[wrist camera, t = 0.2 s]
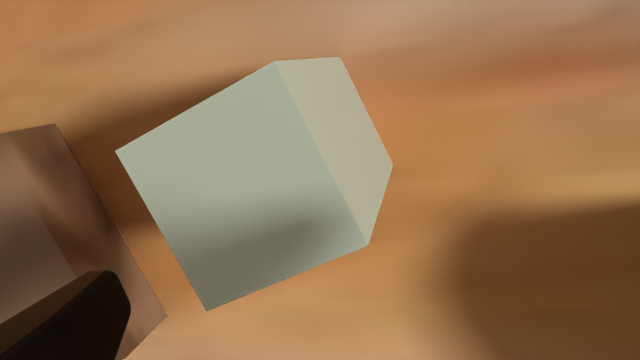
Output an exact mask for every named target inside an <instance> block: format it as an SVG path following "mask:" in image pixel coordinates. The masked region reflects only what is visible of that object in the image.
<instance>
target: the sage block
mask: <svg viewBox="0 0 640 360" xmlns="http://www.w3.org/2000/svg"><path fill="white" fill-rule="evenodd" d="M115 152H116V154H117V156H118V157H119V159H120V161H121V162H122V164H123V166H124V168H125V169H126V171H127V173H128V175H129V176H130V178H131V180H132V182H133V183H134V185H135V187H136V189H137V190H138V192H139V194H140V196H141V197H142V199H143V201H144V203H145V204H146V206H147V208H148V210H149V211H150V213H151V215H152V217H153V218H154V220H155V222H156V224H157V225H158V227H159V229H160V231H161V232H162V234H163V236H164V238H165V239H166V241H167V243H168V245H169V246H170V248H171V250H172V252H173V253H174V255H175V257H176V259H177V260H178V262H179V264H180V266H181V267H182V269H183V271H184V273H185V274H186V276H187V278H188V280H189V281H190V283H191V285H192V287H193V288H194V290H195V292H196V294H197V295H198V297H199V299H200V301H201V302H202V304H203V306H204V308H205V309H206V311H208V310H211V309H213V308H216V307H218V306H221V305H223V304H226V303H228V302H231V301H233V300H235V299H238V298H240V297H243V296H245V295H248V294H250V293H253V292H255V291H258V290H260V289H263V288H265V287H267V286H270V285H272V284H275V283H277V282H280V281H282V280H285V279H287V278H290V277H292V276H295V275H297V274H299V273H302V272H304V271H307V270H309V269H312V268H314V267H317V266H319V265H322V264H324V263H327V262H329V261H331V260H334V259H336V258H339V257H341V256H344V255H346V254H349V253H351V252H354V251H356V250H359V249H361V248H363V247H366V246H368V244H369V241H370V237H371V234H372V231H373V228H374V225H375V222H376V218H377V215H378V212H379V209H380V206H381V203H382V199H383V196H384V193H385V190H386V187H387V183H388V180H389V177H390V174H391V171H392V168H393V164H392V162H391V160H390V158H389V155H388V153H387V151H386V149H385V147H384V145H383V143H382V141H381V139H380V137H379V135H378V133H377V131H376V129H375V127H374V125H373V123H372V121H371V119H370V117H369V115H368V113H367V111H366V109H365V107H364V105H363V103H362V101H361V99H360V97H359V94H358V92H357V90H356V88H355V86H354V84H353V82H352V80H351V78H350V76H349V74H348V72H347V70H346V68H345V66H344V64H343V62H342V60H341V58H340V57H328V58H313V59H299V60H284V61H273V62H271V63H270V64H268V65H266V66H264V67H262V68H261V69H259V70H257V71H255V72H254V73H252V74H250V75H248V76H247V77H245V78H243V79H241V80H239V81H238V82H236V83H234V84H232V85H231V86H229V87H227V88H225V89H224V90H222V91H220V92H218V93H216V94H215V95H213V96H211V97H209V98H208V99H206V100H204V101H202V102H201V103H199V104H197V105H195V106H193V107H192V108H190V109H188V110H186V111H185V112H183V113H181V114H179V115H178V116H176V117H174V118H172V119H170V120H169V121H167V122H165V123H163V124H162V125H160V126H158V127H156V128H155V129H153V130H151V131H149V132H148V133H146V134H144V135H142V136H140V137H139V138H137V139H135V140H133V141H132V142H130V143H128V144H126V145H125V146H123V147H121V148H119V149H117V150H116V151H115Z"/></svg>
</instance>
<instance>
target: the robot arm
mask: <svg viewBox="0 0 640 360" xmlns="http://www.w3.org/2000/svg"><path fill="white" fill-rule="evenodd" d="M130 315H131V304H130V301H129V298H128V296H127V294H126V292H125V290H124V288H123V285H122V283H121V281H120V279H119V277H118V275H117V273H116V272H114V271H113V270H110V269H99V270H91V271H88V272H86V273H84V274H83V275H81V276H79V277H78V278H76V279H74V280H73V281H71V282H69V283H68V284H66V285H64V286H63V287H61V288H59V289H58V290H56V291H54V292H53V293H51V294H49V295H48V296H46V297H44V298H43V299H41V300H39V301H38V302H36V303H34V304H33V305H31V306H29V307H28V308H26V309H24V310H23V311H21V312H19V313H18V314H16V315H14V316H13V317H11V318H9V319H8V320H6V321H4V322H3V323H1V324H0V360H115V359H116V356H117V353H118V350H119V347H120V345H121V342H122V339H123V336H124V333H125V330H126V327H127V324H128V321H129V318H130Z"/></svg>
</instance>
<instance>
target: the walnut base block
mask: <svg viewBox="0 0 640 360" xmlns="http://www.w3.org/2000/svg"><path fill="white" fill-rule="evenodd" d="M99 269H110V270H113V271H114V272H116V273H117V275H118V277H119V279H120V281H121V283H122V285H123V288H124V290H125V292H126V294H127V296H128V298H129V301H130V304H131V315H130V318H129V321H128V324H127V327H126V330H125V333H124V336H123V339H122V342H121V345H120V347H119V350H118V353H117V356H116V359H115V360H122V359H124V358H126V357H127V356H128V355H129V354H130V353H131V352H132V351H133V350H134V349H135V348H136V347H137V346H138V345H139V344H140V343H141V342H142V341H143V340H144V339H145V338H146V337H147V336H148V335H149V334H150V333H151V332H152V331H153V330H154V329H155V328H156V327H157V326H158V325H159V324H160V323H161V322H162V321H163V320H164V319H165V318H166V317H167V315H166V313H165V311H164V310H163V308H162V306H161V305H160V303H159V301H158V299H157V298H156V296H155V294H154V293H153V291H152V289H151V287H150V286H149V284H148V282H147V281H146V279H145V277H144V275H143V274H142V272H141V270H140V269H139V267H138V265H137V264H136V262H135V260H134V258H133V257H132V255H131V253H130V252H129V250H128V248H127V246H126V245H125V243H124V241H123V240H122V238H121V236H120V234H119V233H118V231H117V229H116V228H115V226H114V224H113V223H112V221H111V219H110V217H109V216H108V214H107V212H106V211H105V209H104V207H103V205H102V204H101V202H100V200H99V199H98V197H97V195H96V193H95V192H94V190H93V188H92V187H91V185H90V183H89V181H88V180H87V178H86V176H85V175H84V173H83V171H82V170H81V168H80V166H79V164H78V163H77V161H76V159H75V158H74V156H73V154H72V152H71V151H70V149H69V147H68V146H67V144H66V142H65V140H64V139H63V137H62V135H61V134H60V132H59V130H58V129H57V127H56V125H55V124H50V125H45V126H40V127H35V128H30V129H25V130H20V131H15V132H10V133H4V134H0V324H1V323H3V322H4V321H6V320H8V319H9V318H11V317H13V316H14V315H16V314H18V313H19V312H21V311H23V310H24V309H26V308H28V307H29V306H31V305H33V304H34V303H36V302H38V301H39V300H41V299H43V298H44V297H46V296H48V295H49V294H51V293H53V292H54V291H56V290H58V289H59V288H61V287H63V286H64V285H66V284H68V283H69V282H71V281H73V280H74V279H76V278H78V277H79V276H81V275H83V274H84V273H86V272H88V271H91V270H99Z"/></svg>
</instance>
